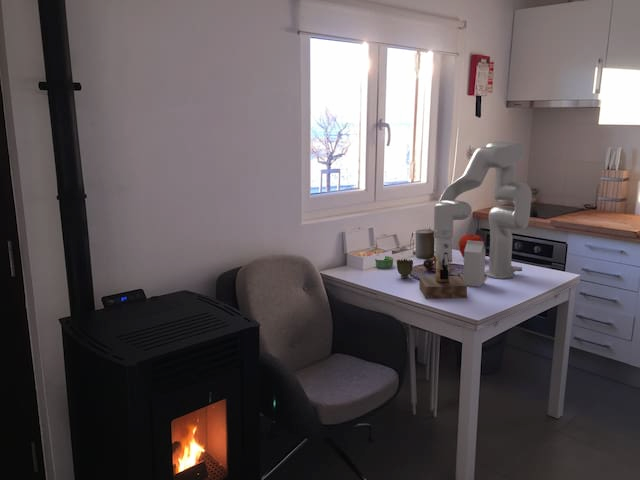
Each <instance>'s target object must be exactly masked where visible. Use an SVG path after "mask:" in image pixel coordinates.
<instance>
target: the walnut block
mask: <svg viewBox="0 0 640 480" xmlns="http://www.w3.org/2000/svg"><path fill="white" fill-rule="evenodd" d="M418 285H419V286H418V287H419V290H420V292H421V293H422V295H423V297H424V300H429V299H430V300H433V299H439V300H440V299H466V298H467V295H468V294H467V293H468V285H466V284H465V283H464V282H463V279H462V278H461V277H460V276H459V275H449V282H448V283H438V282H436V276H419V284H418Z"/></svg>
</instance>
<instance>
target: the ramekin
mask: <svg viewBox="0 0 640 480" xmlns="http://www.w3.org/2000/svg"><path fill="white" fill-rule="evenodd" d="M384 256H385V259H384V260H377V259H375V258H374V259H375V266H377V267H376V268H378V269H382V270H384V269H386V270H387V269H392V268H393V265H394V264H393V263H394V257H392V256H389V255H384Z"/></svg>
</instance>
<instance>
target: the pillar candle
mask: <svg viewBox="0 0 640 480" xmlns="http://www.w3.org/2000/svg"><path fill="white" fill-rule="evenodd" d="M434 256H435V238H434V229H428V228H424V229H417V230H415V257H416V258H417V259H422V260H423V259H424V260H427V259H430V258H432V257H434Z"/></svg>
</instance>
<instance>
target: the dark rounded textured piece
mask: <svg viewBox="0 0 640 480" xmlns="http://www.w3.org/2000/svg"><path fill="white" fill-rule="evenodd" d="M413 264H414V261H413V259H407V258H406V259H405V258H404V259H402V258H401V259H398V260H396V268H397V272H398V274H400V278H401V279H403V280H404V279H408V278H410V276H409V275H410V274H411V273H412V272H413V268H414V267H413V266H414V265H413Z"/></svg>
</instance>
